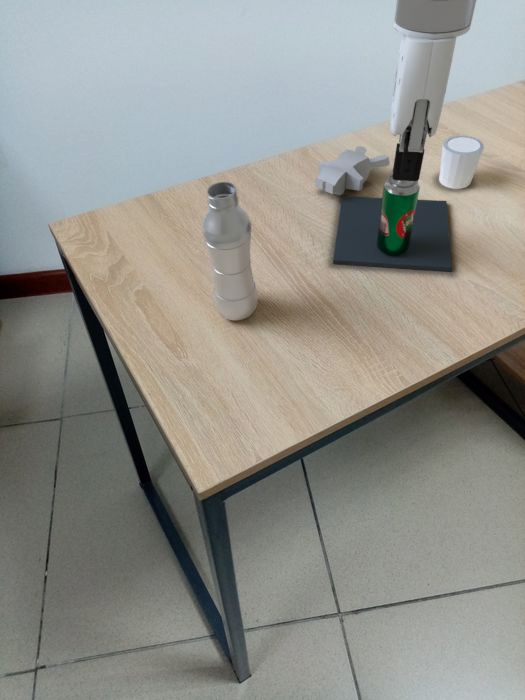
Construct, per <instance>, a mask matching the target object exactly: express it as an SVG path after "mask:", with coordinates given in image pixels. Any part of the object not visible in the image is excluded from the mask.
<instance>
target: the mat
mask: <svg viewBox="0 0 525 700" xmlns="http://www.w3.org/2000/svg"><path fill="white" fill-rule="evenodd" d="M447 203H448V202H447V200H433V199H418V200H417V206H416V211H415V217H414V222H413V228H412V233H411V239H410V244H409V248H408V250H407V251H406V252H404V253H403V254H400V255H396V256H391V255H386V254H384V253H382V252H381V251H380V250H379V249H378V247H377V236H378V228H379V220H380V212H381V204H382V197H368V196H350V195H348V196H346V195H341V201H340V209H339V216H338V223H337V229H336V230H337V231H336V237H335V245H334V252H333V259H332V264H333V265H345V266H346V265H347V266H362V267H376V268H388V269H389V268H391V269H392V268H393V269H405V270H407V269H408V270H422V271H434V272H435V271H437V272H451V273H452V269H453V264H452V263H453V262H452V252H451V238H450V228H449V226H450V225H449V217H448V215H449V214H448V204H447Z"/></svg>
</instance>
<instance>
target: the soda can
mask: <svg viewBox="0 0 525 700" xmlns="http://www.w3.org/2000/svg"><path fill="white" fill-rule="evenodd" d="M420 188H421V187H420V184H419V180H418V181H402V180H394V179H393V173H392V174H390V175H389V176H387V178H386V181H385V182H384V184H383V188H382V189H383V190H382V197H381V198H382V204H381V212H380V220H379V228H378V236H377V247H378V249H379V250H380V251H381V252H382V253H384V254H386V255H391V256H396V255H400V254H403V253H404V252H406V251H407V250H408V248H409V244H410V239H411V233H412V228H413V222H414V217H415V211H416V206H417V200H419V195H420Z"/></svg>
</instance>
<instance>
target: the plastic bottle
mask: <svg viewBox="0 0 525 700" xmlns="http://www.w3.org/2000/svg"><path fill="white" fill-rule="evenodd" d="M206 196H207V197H206V198H207V206H208V208H209V209H208V210H207V212H206V214H205V216H204V218H203V220H202V225H201V232H202V237H203V239H204V243H205V245H206V249H207V252H208V255H209V258H210V264H211V267H212V275H213V291H212V297H213V304H214V306H215V309H216V311H217V314H219V315H220V316H221V317H223V318H224V319H226V320H229V321H242V320H245V319H247V318H249V317H250V316H251V315H252V314H253V313H254V312H255V310H256V308H257V306H258V301H259V293H258V289H257V286H256V283H255V281H254V275H253V270H252V264H251V263H252V262H251V240H252V222H251V219H250V217H249V215H248V213H247V212H246V211H245V210H244V208H242V207H241V206H240V205H239V204H240V203H239V202H240V200H239V196H238V190H237V187H236V185H235V184H234V183H232V182H229V181H219V182H215V183H213V184H211V185H209V187H207V190H206Z"/></svg>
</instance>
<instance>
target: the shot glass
mask: <svg viewBox="0 0 525 700" xmlns="http://www.w3.org/2000/svg"><path fill="white" fill-rule="evenodd" d="M484 148H485V146H484V143H483V142H482V141H481V140H480V139H478V138H476V137H473V136H469V135H452V136H449V137H448V138H445V140H444V141H443V142H442V147H441V159H440V167H439V176H438V182H439V183H440V184H441V186H443V187H446V188H448V189H454V190H461V189H465V188H467V187H469V186H470V185H471V183H472V180H473V178H474V176H475V172H476V169H477V168H478V164H479V162H480V159H481V156H482V155H483V151H484Z"/></svg>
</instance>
